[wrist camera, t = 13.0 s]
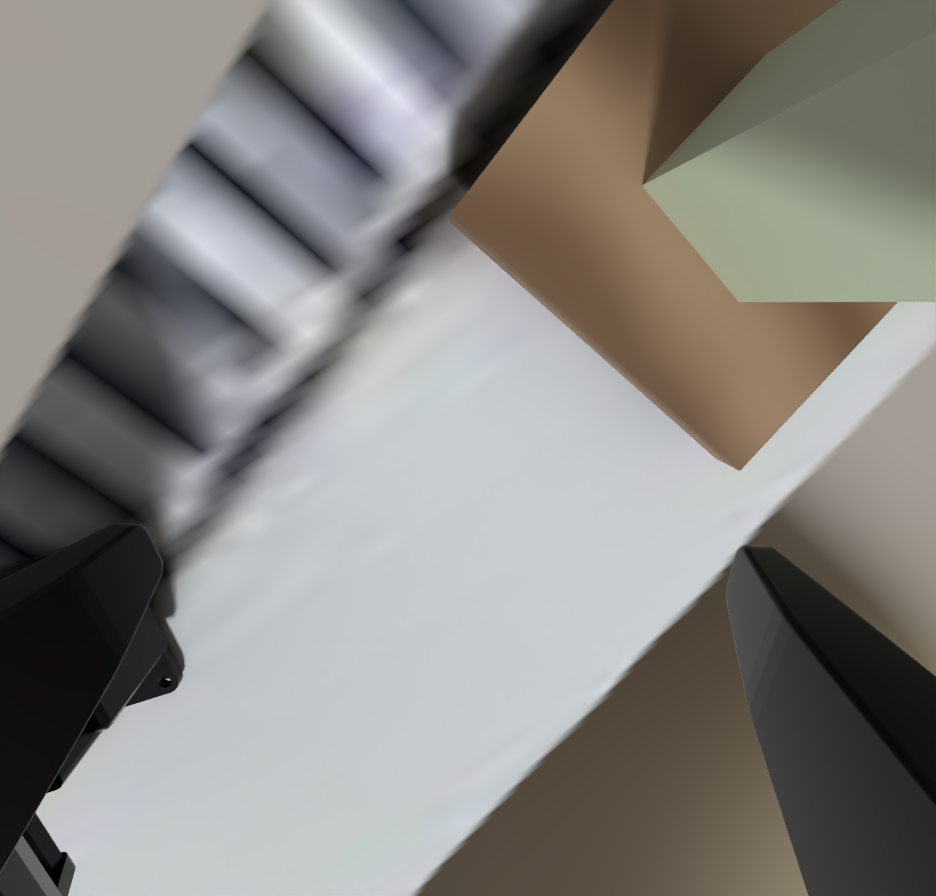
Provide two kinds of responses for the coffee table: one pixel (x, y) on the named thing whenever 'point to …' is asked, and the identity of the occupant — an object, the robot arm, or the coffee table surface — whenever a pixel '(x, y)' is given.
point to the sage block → (820, 164)
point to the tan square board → (655, 222)
